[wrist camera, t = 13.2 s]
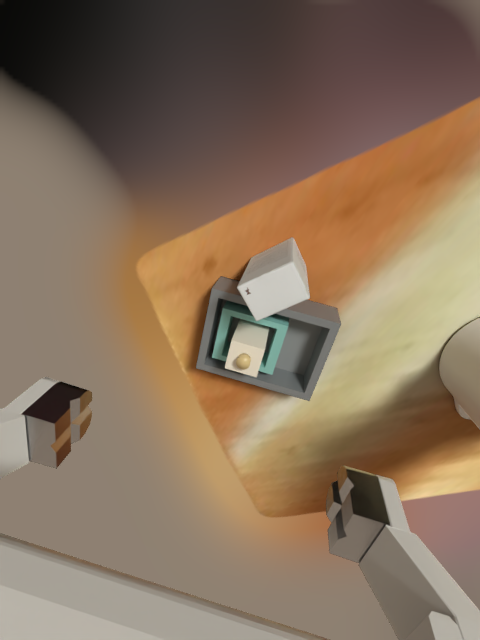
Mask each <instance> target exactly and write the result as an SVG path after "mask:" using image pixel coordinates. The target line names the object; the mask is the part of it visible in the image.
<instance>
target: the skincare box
mask: <svg viewBox="0 0 480 640" xmlns="http://www.w3.org/2000/svg"><path fill="white" fill-rule="evenodd" d="M237 289H238V291H239V292H240V294H241V296H242V297H243V299H244V301H245V303H246V304H247V306H248V308H249V309H250V311H251V313H252V315H253V316H254V318H255V320H256V321H259V320H261V319H263V318H266V317H268V316H270V315H273V314H275V313H277V312H280V311H282V310H284V309H286V308H289V307H291V306H293V305H295V304H298V303H300V302H302V301H305V300H307V299H309V298H310V294H309V286H308V278H307V270H306V265H305V262H304V260H303V258H302V256H301V254H300V251H299V249H298V247H297V244H296V242H295V240H294V238H293V237H292V238H290V239H288V240H286V241H284V242H282V243H280V244H278V245H276V246H274V247H272V248H270V249H267V250H265V251H263V252H261V253H259V254H257V255H255V256H253V257H252V258H251V259H250V261H249V263H248V266H247V268H246V270H245V272H244V274H243V276H242V278H241V280H240V282H239V284H238V286H237Z"/></svg>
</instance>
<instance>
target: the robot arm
mask: <svg viewBox="0 0 480 640" xmlns="http://www.w3.org/2000/svg"><path fill="white" fill-rule="evenodd" d="M439 371H440V377H441V380H442V382H443V384H444V385H445V387H446V388H447V389H448V391H449V392H450V393H451V394H452V396H453V397H454V402H455V407H456V410H457V412H458V413H459V414H460V416H461V417H463V418H465V419H470V420H472V421H473V422H474V423H475V424H476V426H477V427H478V428H479V429H480V318H478V319H476V320H474V321H472V322H470V323H469V324H467V325H466V326H464V327H463V328H462V329H460V330H459V331H458V332H457V333H456V334H455V335H454V336H453V337H452V338H451V339H450V341H449V342H448V343H447V345H446V346H445V348H444V350H443V352H442V355H441V358H440V363H439ZM91 401H92V392H90V391H89V390H86V389H83V388H79V387H77V386H73V385H70V384H67V383H64V382H60V381H57V380H54V379H51V378H48V377H45V378H42V379H40V380H39V381H38V382H36V383H35V384H34V385H32V386H31V387H30V388H29V389H27V390H26V391H25V392H24V393H23V394H21V395H20V396H19V397H18V398H16V399H15V400H14V401H13V402H11V403H10V404H9V405H8V406H6V407H5V408H4V409H1V408H0V478H2V477H4V476H6V475H7V474H9V473H11V472H13V471H15V470H17V469H19V468H20V467H22V466H24V465H26V464H27V463H29V461H31V462H35V463H38V464H42V465H45V466H49V467H53V468H56V469H57V467H58V466H59V465H60V464H61V463H62V461H63V460H64V459H65V458H66V456H67V455H68V454H69V453H70V452H71V444H72V443H74V442H77V441H79V440H80V439H81V438H82V437H83V435H84V434H85V432H86V430H87V428H88V427H89V425H90V421H91V417H92V411H91V409H90V408H89V406H88V405H89V403H90V402H91ZM337 478H338V480H337V481H335V482H333V483H332V484H331V486H330V488H329V490H328V494H327V499H326V515H327V517H328V518H329V520H330V521H331V525H330V527H329V529H328V539H329V551H330V553H331V554H333V555H336V556H339V557H342V558H346V559H348V560H351V561H354V562H357V563H359V566H360V568H361V570H362V572H363V574H364V576H365V578H366V580H367V582H368V583H369V585H370V587H371V589H372V591H373V593H374V595H375V596H376V598H377V600H378V602H379V604H380V606H381V608H382V610H383V611H384V613H385V615H386V617H387V619H388V621H389V623H390V624H391V626H392V628H393V630H394V632H395V634H396V636H397V638H398V639H399V640H480V611H479V610H478V608H477V607H476V606H475V605H474V604H473V603H472V601H471V600H470V599H469V598H468V596H467V595H466V594H465V593H464V592H463V590H462V589H461V588H460V587H459V586H458V584H457V583H456V582H455V581H454V579H453V578H452V577H451V576H450V575H449V573H448V572H447V571H446V570H445V569H444V568H443V566H442V565H441V564H440V563H439V562H438V560H437V559H436V558H435V557H434V556H433V554H432V553H431V552H430V551H429V549H428V548H427V547H426V546H425V545H424V544H423V542H422V541H421V540H420V539H419V537H418V536H417V535H416V534H414V533H411V532H410V529H409V526H408V523H407V519H406V516H405V513H404V510H403V507H402V504H401V500H400V497H399V494H398V491H397V488H396V485H395V482H394V481H393V480H392V479H390V478H386V477H383V476H379V475H374V474H372V473H368V472H365V471H361V470H358V469H354V468H351V467H347V466H344V465H343V466H341V467H340V469H339V470H338V472H337ZM0 640H329V639H326V638H323V637H320V636H317V635H314V634H311V633H308V632H305V631H302V630H298V629H295V628H292V627H289V626H286V625H283V624H280V623H277V622H274V621H271V620H268V619H265V618H262V617H259V616H255V615H252V614H249V613H246V612H243V611H240V610H237V609H234V608H231V607H227V606H225V605H221V604H218V603H215V602H212V601H209V600H206V599H203V598H200V597H197V596H194V595H191V594H188V593H184V592H181V591H178V590H175V589H172V588H169V587H166V586H163V585H159V584H156V583H153V582H150V581H147V580H144V579H141V578H138V577H135V576H132V575H129V574H125V573H122V572H119V571H116V570H113V569H110V568H107V567H103V566H101V565H98V564H94V563H91V562H88V561H85V560H82V559H79V558H76V557H73V556H70V555H67V554H63V553H60V552H57V551H54V550H51V549H48V548H45V547H42V546H39V545H36V544H33V543H29V542H26V541H23V540H20V539H17V538H14V537H11V536H8V535H5V534H2V533H0Z"/></svg>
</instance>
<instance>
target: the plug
mask: <svg viewBox="0 0 480 640" xmlns="http://www.w3.org/2000/svg"><path fill="white" fill-rule="evenodd" d="M268 331H269V326H265V325H261V324H258V323H254V322H251V321H247V320H244V319H240V320H239V323H238V325H237V328H236V330H235V333H234V335H233V338H232V340H231V344H230V348H229V352H228V356H227V360H226V364H225V368H226V369H229V370H233V371H236V372H240V373H243V374H246V375H250V376H253V377H257V374H258V371H259V368H260V364H261V361H262V358H263V355H264V351H265V347H266V342H267V337H268Z"/></svg>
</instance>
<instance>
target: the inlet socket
mask: <svg viewBox="0 0 480 640" xmlns="http://www.w3.org/2000/svg"><path fill="white" fill-rule="evenodd" d="M233 317H236V318H240V319H244V320H247V321H251V322H254V323H258V324H261V325H265V326H269V327H272V328H275V331H274V334H273V337H272V340H271V343H270V347H269V350H268V353H267V352H264V355H263V358H262V361H261V364H260V368H259V371H260V372H264V373H267V374H271V375H272V374H273V371H274V368H275V365H276V362H277V359H278V356H279V353H280V350H281V347H282V344H283V341H284V338H285V335H286V332H287V329H288V325H289V317H285V316H282V315H278V314H273V315H270V316H268V317H266V318H263V319H261V320H259V321H256V320H255V318H254V316H253V315H252V313H251V311H250V309H249V308H248V306H246V305H242V304H239V303H235V302H231V301H228V300H227V301H226V303H225V305H224V307H223V310H222V314H221V319H220V323H219V328H218V332H217V337H216V341H215V346H214V350H213V354H212V358H215V359H219V360H222V361H226V360H227V356H228V352H229V348H230V344H231V342H228V337H229V333H230V328H231V324H232V320H233Z"/></svg>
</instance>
